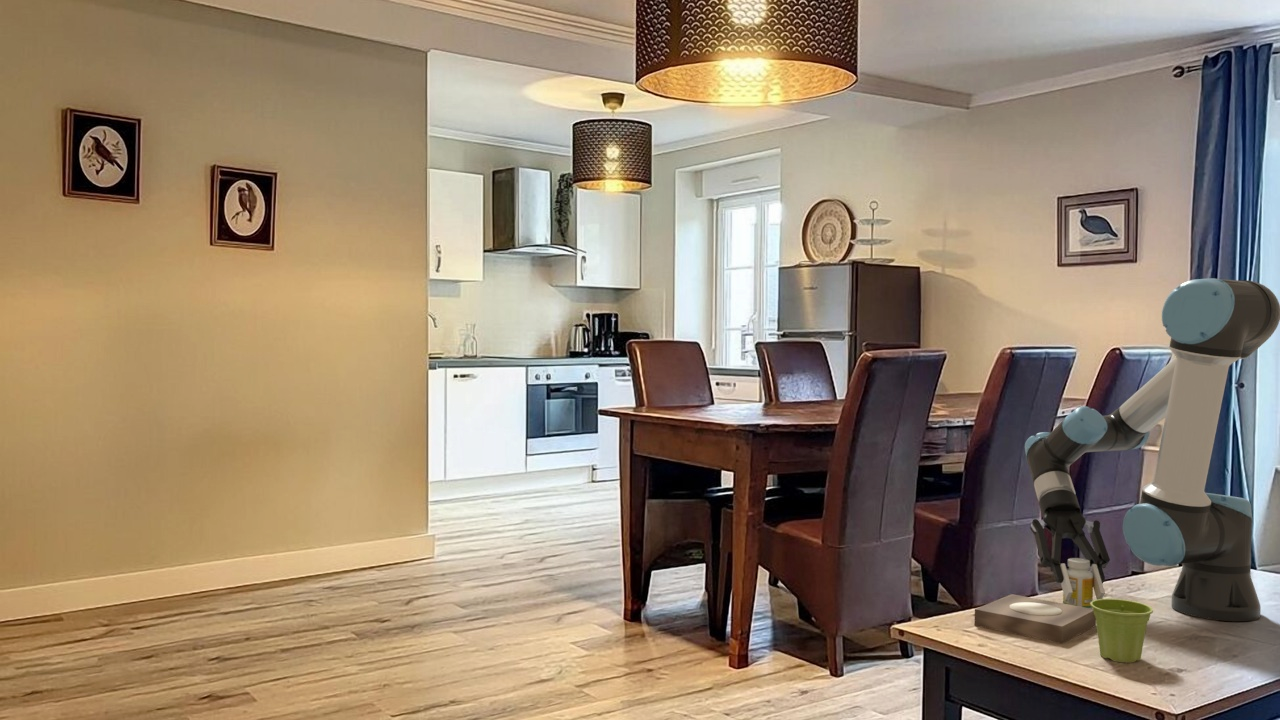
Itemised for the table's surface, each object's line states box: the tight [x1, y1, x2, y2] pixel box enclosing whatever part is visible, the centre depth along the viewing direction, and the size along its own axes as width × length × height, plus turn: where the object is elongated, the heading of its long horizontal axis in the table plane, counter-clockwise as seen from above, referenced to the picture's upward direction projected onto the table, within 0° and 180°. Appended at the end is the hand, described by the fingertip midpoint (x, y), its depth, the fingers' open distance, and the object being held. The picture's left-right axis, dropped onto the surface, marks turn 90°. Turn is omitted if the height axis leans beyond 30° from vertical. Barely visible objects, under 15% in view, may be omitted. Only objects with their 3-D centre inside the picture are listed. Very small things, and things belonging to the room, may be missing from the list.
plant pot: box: [1090, 598, 1154, 664], centre depth 170 cm, size 9×9×9 cm
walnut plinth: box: [974, 593, 1097, 645], centre depth 189 cm, size 16×16×3 cm
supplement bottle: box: [1062, 557, 1094, 609], centre depth 201 cm, size 5×5×10 cm
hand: (1085, 596), depth 198 cm, fingers closed on supplement bottle, 5 cm apart
